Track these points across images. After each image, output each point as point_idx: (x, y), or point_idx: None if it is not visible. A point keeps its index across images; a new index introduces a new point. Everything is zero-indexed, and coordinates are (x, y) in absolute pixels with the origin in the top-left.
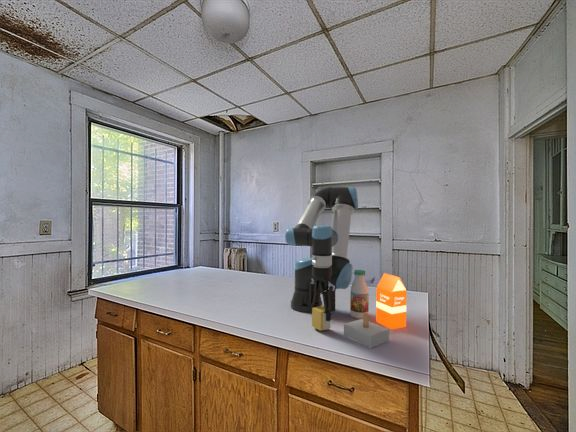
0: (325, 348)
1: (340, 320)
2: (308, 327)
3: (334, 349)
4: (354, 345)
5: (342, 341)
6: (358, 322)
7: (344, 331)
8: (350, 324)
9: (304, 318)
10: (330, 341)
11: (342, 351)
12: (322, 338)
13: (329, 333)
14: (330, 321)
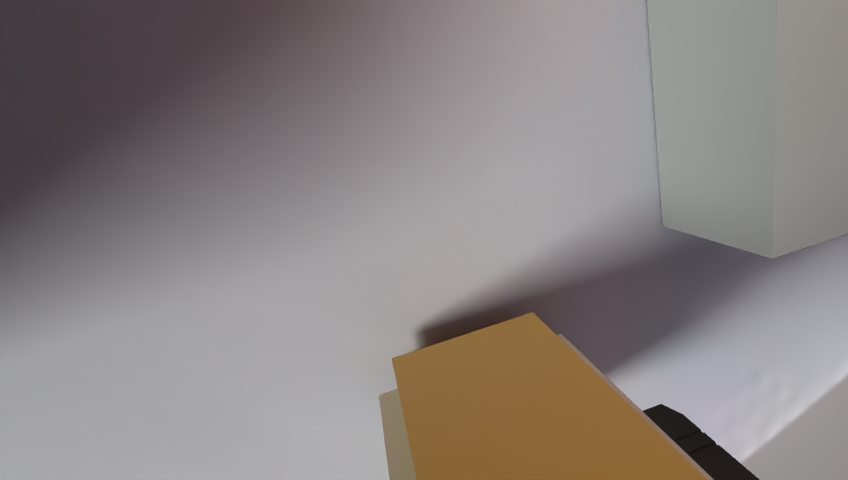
0: (754, 451)
1: (283, 16)
2: (384, 472)
3: (794, 403)
4: (835, 240)
5: (742, 298)
6: (845, 11)
7: (701, 232)
8: (824, 179)
9: (106, 454)
10: (696, 385)
11: (839, 365)
12: None
13: (576, 337)
14: (571, 349)
